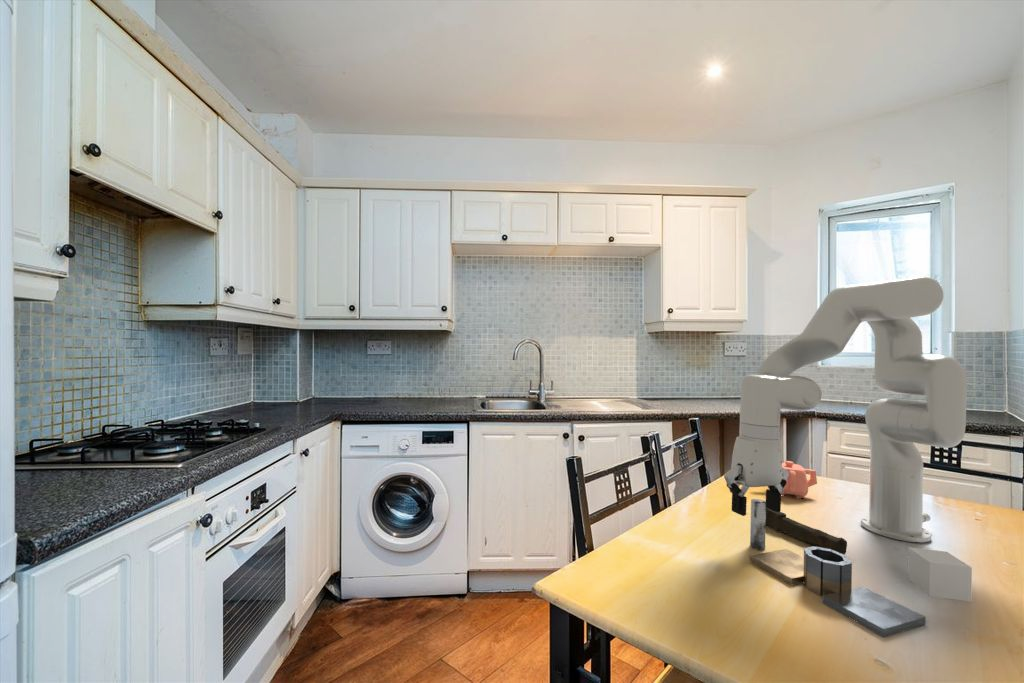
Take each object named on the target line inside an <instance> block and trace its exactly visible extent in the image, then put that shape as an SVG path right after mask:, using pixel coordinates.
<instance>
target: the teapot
mask: <svg viewBox="0 0 1024 683" xmlns="http://www.w3.org/2000/svg"><path fill="white" fill-rule="evenodd" d="M782 467H783V468H784V469H786V470H787V471H789V476H788V478H787V480H786V482H787V483H786V485H785V486H784V488H783V490H784V491H783V493H780V494H781V495H785V496H786V495H795V498H796V497H799V498H804V497H806V496H807V495H808V492H809V488H810V487H812V486H815V485H817V484H818V480H817V472H816V470H815V469H810V468H804V467H803V466H802V465H800V464H796V463H794V462H793V461H790V460H786V461H784V462H782ZM807 474H809V478H810V479H808V478H807ZM799 498H798V499H799Z"/></svg>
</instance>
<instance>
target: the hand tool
mask: <svg viewBox="0 0 1024 683" xmlns="http://www.w3.org/2000/svg"><path fill="white" fill-rule="evenodd" d="M766 527H767V528H768V529H771V530H773V531H775V532H778V533H785V534H788V535H790V536H792V537H794V538H797V539H800V540H802V542H803V541H804V542H805V543H808V544H811V545H812V546H814V547H815V546H816V547H821V548H826V549H831V550H834V551H837V552H839V553H841V554H843V555H846V553H847V547H848V541H847V540H846V539H845V538H843V537H837V536H834V535H831V534H829V533H827V532H824V531H823V530H819V529H818V528H815V527H811V526H808V525H806V524H804V523H800V522H798V521H797V520H794V519H791V518H790V517H787V514H786V513H785V512H782V511H780V512H776V511H773V510H771V509H768V508H766Z"/></svg>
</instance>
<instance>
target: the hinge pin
mask: <svg viewBox="0 0 1024 683" xmlns="http://www.w3.org/2000/svg"><path fill="white" fill-rule="evenodd" d="M766 527H767V526H766V500H763V499H759V498H751V499H750V537H749V538H750V539H749V540H750V542H749V547H750V548H751V549H753V550H757V551H759V552H762V551H766Z"/></svg>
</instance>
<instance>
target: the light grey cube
mask: <svg viewBox="0 0 1024 683" xmlns="http://www.w3.org/2000/svg"><path fill="white" fill-rule="evenodd" d="M907 549H908V550H907V579H908V580H910V581H911V582H912V583H913V584H914V585H915V586H917V587H918V588H919V589H920V590H922V591H923V592H924V594H927V595H928V596H930V597H935V598H942V599H949V600H950V599H951V600H955V601H956V600H957V601H963V602H969V603H970V602H971V603H972V587H973V586H972V582H973V581H972V577H973V576H972V574H973V573H972V571H973V567H972V566H970V565H968V564H967V563H965V562H964V561H962V560H961V559H960V558H957V557H956V556H955V555H953V554H951V553H950V552H948V551H943V550H935V549H929V548H928V549H927V548H920V547H909V546H908V548H907Z"/></svg>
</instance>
